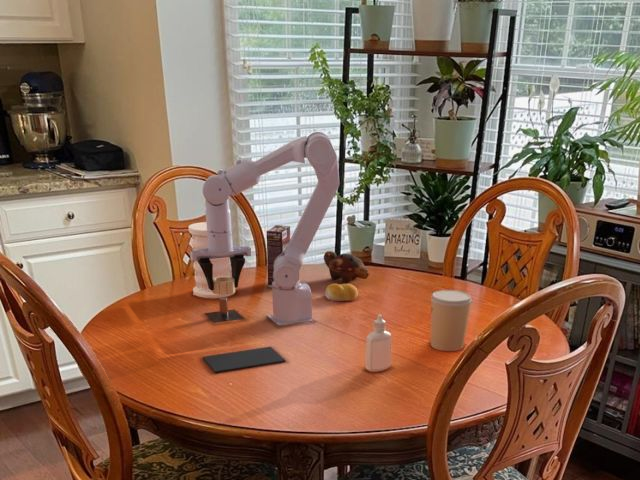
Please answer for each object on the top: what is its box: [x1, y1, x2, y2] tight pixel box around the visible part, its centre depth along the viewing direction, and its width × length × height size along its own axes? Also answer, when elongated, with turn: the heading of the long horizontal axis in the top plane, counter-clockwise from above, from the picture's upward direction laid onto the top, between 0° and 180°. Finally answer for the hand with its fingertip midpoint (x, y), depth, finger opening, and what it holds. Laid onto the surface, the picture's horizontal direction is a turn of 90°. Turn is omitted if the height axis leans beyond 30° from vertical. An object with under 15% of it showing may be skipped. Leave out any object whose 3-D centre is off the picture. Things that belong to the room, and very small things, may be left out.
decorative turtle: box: [323, 250, 370, 284], centre depth 211 cm, size 10×15×8 cm, turn 67°
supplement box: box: [266, 224, 291, 289], centre depth 203 cm, size 9×5×16 cm, turn 168°
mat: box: [202, 346, 286, 374], centre depth 157 cm, size 16×9×1 cm, turn 117°
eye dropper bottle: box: [365, 313, 393, 373], centre depth 152 cm, size 4×6×12 cm
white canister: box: [430, 289, 473, 352], centre depth 166 cm, size 9×9×12 cm
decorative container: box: [187, 221, 236, 299], centre depth 194 cm, size 12×12×18 cm
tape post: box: [204, 297, 245, 324], centre depth 180 cm, size 8×8×5 cm
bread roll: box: [324, 283, 359, 302], centre depth 198 cm, size 8×9×4 cm
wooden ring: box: [212, 276, 236, 295], centre depth 175 cm, size 6×6×3 cm
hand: (223, 287), depth 175 cm, fingers closed on wooden ring, 5 cm apart
